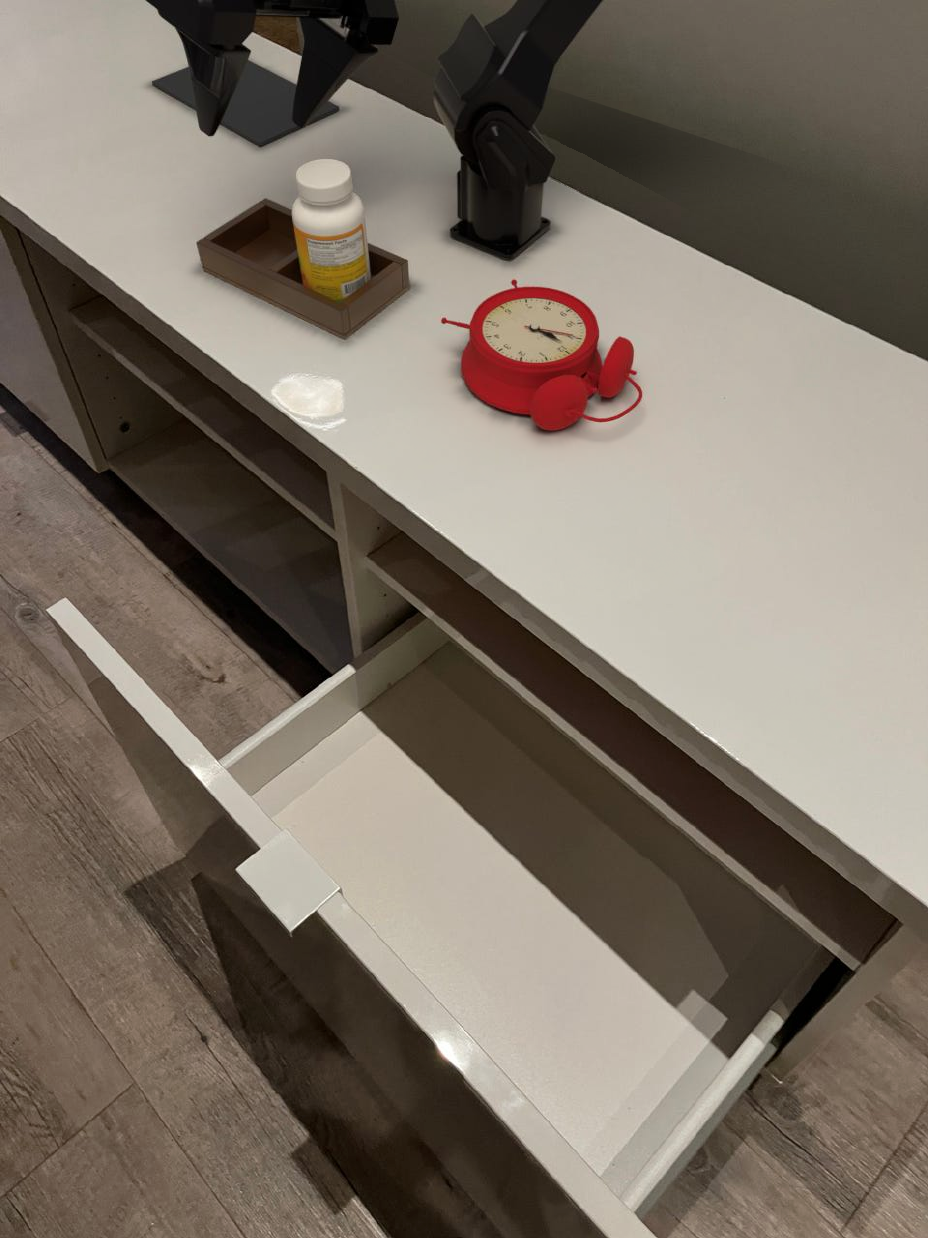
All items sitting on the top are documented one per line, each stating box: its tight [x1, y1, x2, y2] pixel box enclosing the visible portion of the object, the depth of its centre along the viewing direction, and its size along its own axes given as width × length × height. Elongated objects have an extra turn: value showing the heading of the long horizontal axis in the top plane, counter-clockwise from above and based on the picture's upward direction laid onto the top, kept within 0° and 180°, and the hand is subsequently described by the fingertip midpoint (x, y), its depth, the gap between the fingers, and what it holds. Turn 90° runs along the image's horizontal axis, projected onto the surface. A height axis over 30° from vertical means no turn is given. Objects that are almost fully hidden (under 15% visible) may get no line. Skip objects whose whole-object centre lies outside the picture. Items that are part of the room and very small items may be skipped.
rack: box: [195, 197, 410, 340], centre depth 74 cm, size 8×15×3 cm, turn 54°
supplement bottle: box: [291, 158, 371, 302], centre depth 70 cm, size 5×5×10 cm
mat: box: [151, 59, 340, 148], centre depth 94 cm, size 18×10×1 cm, turn 45°
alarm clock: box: [440, 278, 643, 432], centre depth 66 cm, size 10×6×15 cm
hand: (254, 128), depth 67 cm, fingers open, 9 cm apart
